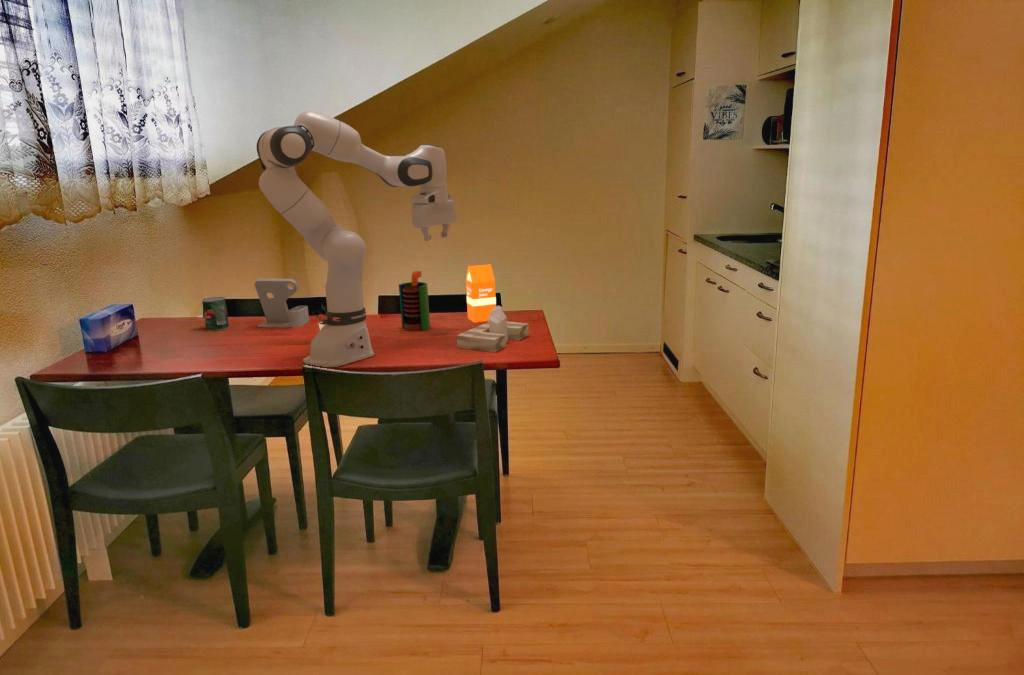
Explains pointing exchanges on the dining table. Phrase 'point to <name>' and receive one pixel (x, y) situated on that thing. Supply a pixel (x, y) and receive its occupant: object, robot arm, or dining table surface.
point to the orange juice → (480, 292)
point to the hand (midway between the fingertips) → (436, 239)
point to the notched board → (491, 337)
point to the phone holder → (280, 303)
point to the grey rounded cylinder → (498, 322)
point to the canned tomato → (215, 313)
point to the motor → (414, 304)
